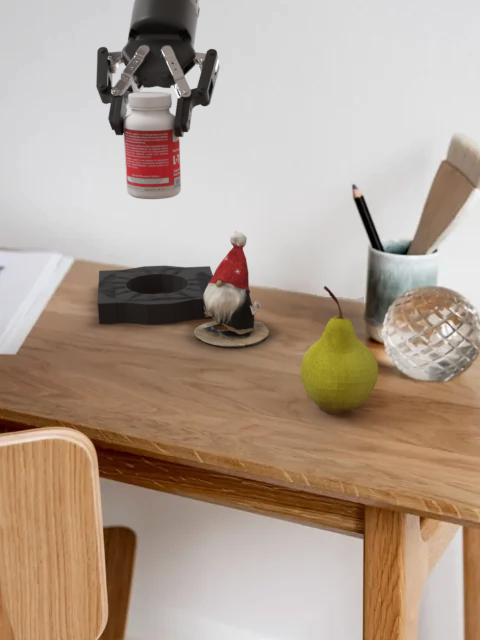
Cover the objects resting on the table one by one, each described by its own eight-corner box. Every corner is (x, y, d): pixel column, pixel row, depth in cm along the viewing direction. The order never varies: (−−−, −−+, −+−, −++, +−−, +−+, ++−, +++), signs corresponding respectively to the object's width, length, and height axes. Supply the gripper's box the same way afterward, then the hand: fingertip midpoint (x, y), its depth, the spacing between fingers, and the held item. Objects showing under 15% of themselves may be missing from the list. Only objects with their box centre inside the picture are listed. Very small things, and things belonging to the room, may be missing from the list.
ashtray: (98, 327, 95) (97, 306, 94) (100, 286, 108) (99, 268, 107) (222, 321, 97) (222, 301, 96) (209, 282, 110) (209, 263, 109)
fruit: (366, 390, 81) (374, 271, 76) (383, 424, 75) (393, 297, 70) (295, 393, 80) (298, 273, 75) (306, 427, 74) (311, 299, 69)
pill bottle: (184, 199, 94) (181, 96, 90) (129, 201, 93) (123, 98, 89) (176, 186, 100) (173, 89, 95) (124, 189, 99) (119, 90, 94)
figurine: (197, 326, 85) (192, 229, 91) (195, 369, 94) (190, 279, 100) (277, 324, 86) (268, 228, 92) (268, 367, 95) (260, 278, 101)
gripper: (97, -15, 95) (74, 109, 89) (223, -14, 94) (209, 112, 88) (112, 32, 102) (92, 150, 96) (230, 34, 101) (217, 153, 95)
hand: (148, 131), depth 92 cm, fingers closed on pill bottle, 6 cm apart
